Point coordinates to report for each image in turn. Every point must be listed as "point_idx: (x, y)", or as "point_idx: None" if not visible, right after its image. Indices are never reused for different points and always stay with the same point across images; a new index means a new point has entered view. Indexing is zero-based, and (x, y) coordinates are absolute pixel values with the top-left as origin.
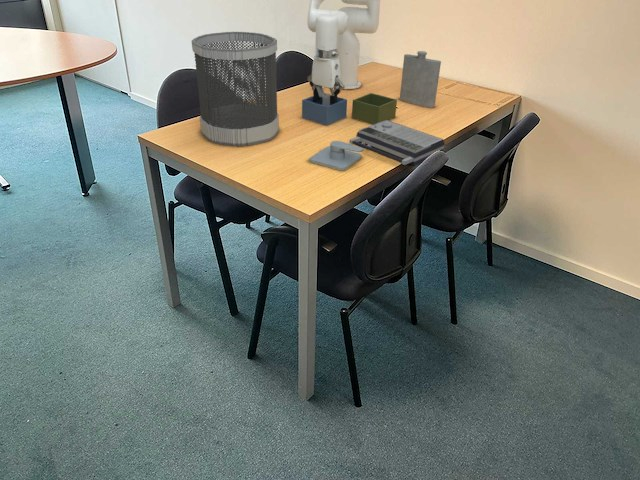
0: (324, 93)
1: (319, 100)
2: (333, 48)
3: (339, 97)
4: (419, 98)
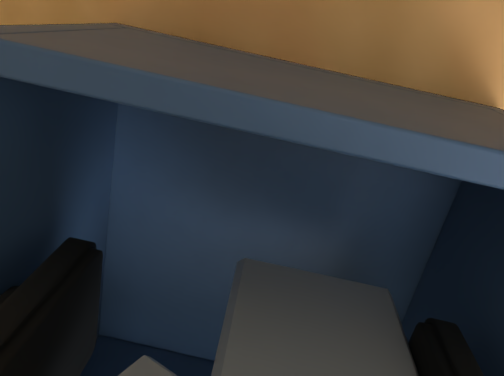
0: (18, 57)
1: (55, 143)
2: None
3: (470, 152)
4: None
